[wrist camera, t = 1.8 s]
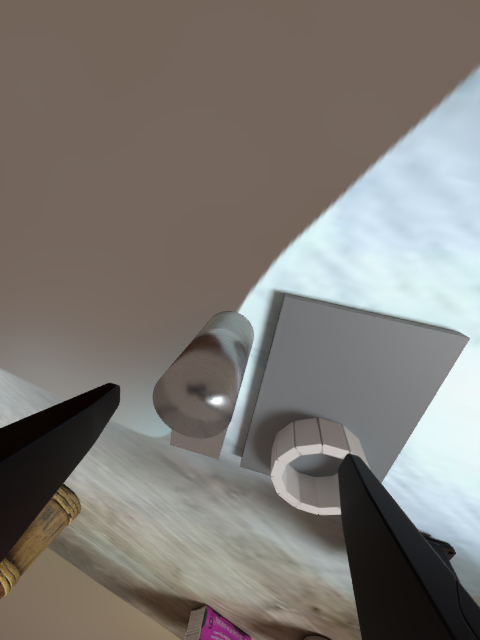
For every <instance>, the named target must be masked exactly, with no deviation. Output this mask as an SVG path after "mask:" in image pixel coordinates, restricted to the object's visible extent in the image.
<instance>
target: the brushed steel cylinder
mask: <svg viewBox="0 0 480 640" xmlns="http://www.w3.org/2000/svg"><path fill="white" fill-rule="evenodd" d="M253 341H254V331H253V327H252V325H251V324H250V322H249V321H248V320H247V319H246V318H245V317H244V316H243V315H241V314H239V313H236V312H232V311H225V312H221V313H218V314H216V315H215V316H213V318H211V320H210V321H209V322H208V323H207V324H206V326H205V327H204V328H203V329H202V330H201V331H200V332H199V334H198V335H197V336H196V337H195V338H194V340H193V341H192V342H191V343H190V344H189V345H188V347H187V348H186V349H185V350H184V351H183V352H182V354H181V355H180V356H179V357H178V358H177V359H176V361H175V362H174V363H173V364H172V365H171V366H170V368H169V369H168V370H167V371H166V372H165V374H164V375H163V376H162V377H161V378H160V379H159V381H158V382H157V383H156V385H155V387H154V391H153V403H154V407H155V409H156V412H157V413H158V415H159V417H160V418H161V419H162V421H163V422H164V423H165V424H167V425H168V426H169V427H170V428H171V429H172V433H171V443H170V445H173V446H177V447H180V448H183V449H187V450H190V451H193V452H197V453H200V454H203V455H207V456H210V457H213V458H217V459H219V456H220V452H221V449H222V445H223V442H224V439H225V435H226V432H227V428H228V425H229V424H230V422H231V419H232V415H233V412H234V408H235V405H236V401H237V398H238V394H239V390H240V387H241V383H242V380H243V376H244V373H245V369H246V366H247V362H248V358H249V355H250V351H251V348H252V344H253Z"/></svg>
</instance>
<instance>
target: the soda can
mask: <svg viewBox="0 0 480 640" xmlns="http://www.w3.org/2000/svg"><path fill="white" fill-rule="evenodd" d="M304 640H328V639H326V638H323V637H319V636H308V637H306V638H305V639H304Z"/></svg>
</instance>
